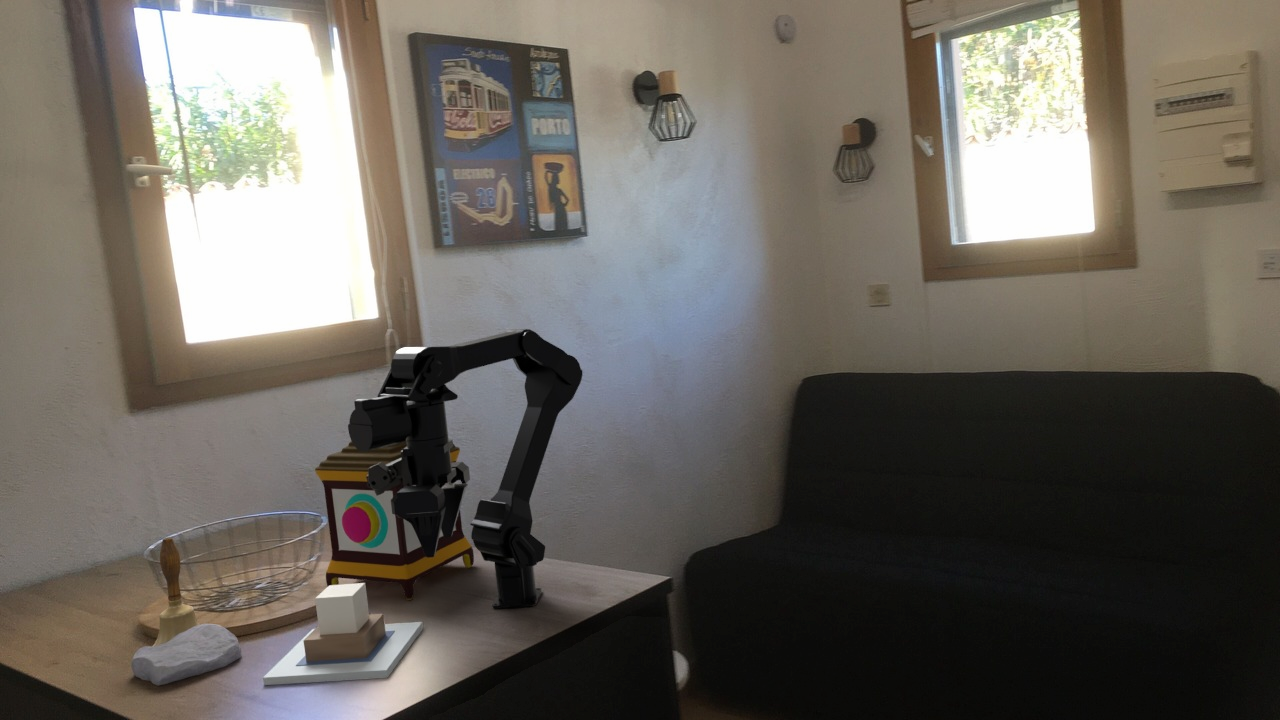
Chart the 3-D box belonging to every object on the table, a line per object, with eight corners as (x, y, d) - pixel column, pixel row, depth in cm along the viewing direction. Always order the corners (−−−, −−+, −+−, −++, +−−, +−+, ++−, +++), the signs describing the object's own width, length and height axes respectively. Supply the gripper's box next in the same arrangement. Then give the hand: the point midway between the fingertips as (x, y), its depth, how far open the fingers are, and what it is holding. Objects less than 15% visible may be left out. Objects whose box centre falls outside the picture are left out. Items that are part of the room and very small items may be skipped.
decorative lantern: (396, 557, 173) (377, 393, 170) (486, 564, 164) (468, 391, 161) (314, 596, 155) (291, 413, 152) (411, 605, 146) (388, 412, 143)
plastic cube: (333, 620, 131) (329, 585, 131) (369, 618, 131) (365, 582, 130) (319, 634, 126) (315, 598, 126) (356, 632, 126) (352, 595, 125)
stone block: (251, 669, 132) (213, 642, 138) (249, 638, 131) (211, 612, 137) (165, 708, 123) (128, 677, 129) (162, 675, 122) (125, 645, 128)
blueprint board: (313, 635, 137) (310, 608, 137) (423, 628, 136) (419, 601, 136) (264, 685, 121) (259, 654, 121) (387, 677, 120) (383, 647, 120)
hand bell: (153, 643, 140) (137, 537, 139) (214, 631, 143) (200, 526, 141) (146, 663, 132) (129, 551, 131) (211, 650, 135) (195, 540, 134)
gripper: (391, 429, 142) (403, 531, 144) (345, 455, 123) (360, 572, 125) (465, 423, 141) (476, 526, 143) (430, 448, 123) (443, 566, 124)
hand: (439, 546), depth 134 cm, fingers open, 9 cm apart
